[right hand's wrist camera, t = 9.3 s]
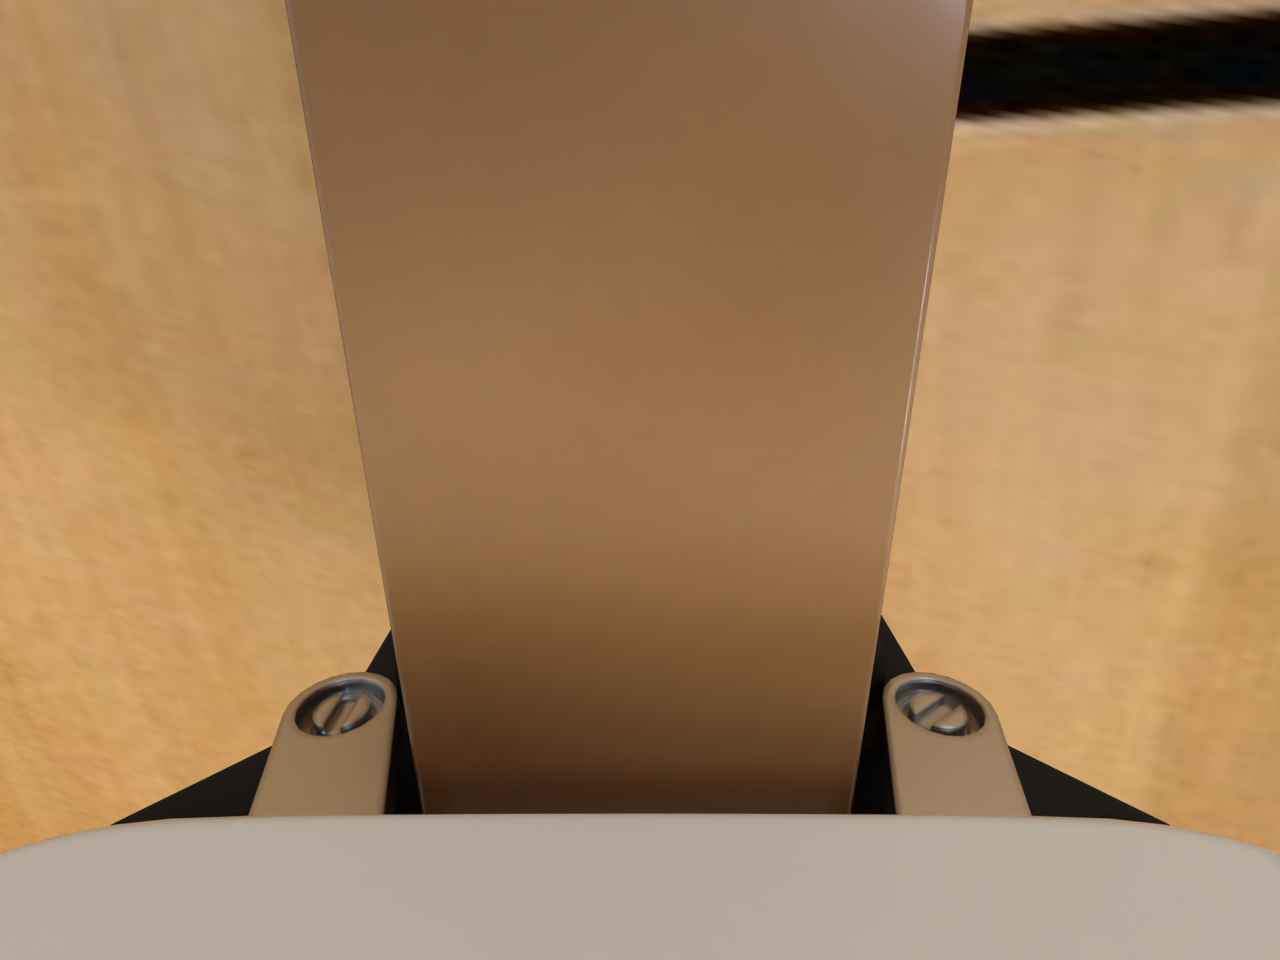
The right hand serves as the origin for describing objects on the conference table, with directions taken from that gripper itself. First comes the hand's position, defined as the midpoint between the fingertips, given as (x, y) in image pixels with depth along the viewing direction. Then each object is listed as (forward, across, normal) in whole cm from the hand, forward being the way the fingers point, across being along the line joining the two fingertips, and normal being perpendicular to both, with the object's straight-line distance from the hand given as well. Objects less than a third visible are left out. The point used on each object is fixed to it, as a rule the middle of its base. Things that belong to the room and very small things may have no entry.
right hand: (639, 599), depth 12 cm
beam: (+3, 0, -23) cm, 23 cm away
